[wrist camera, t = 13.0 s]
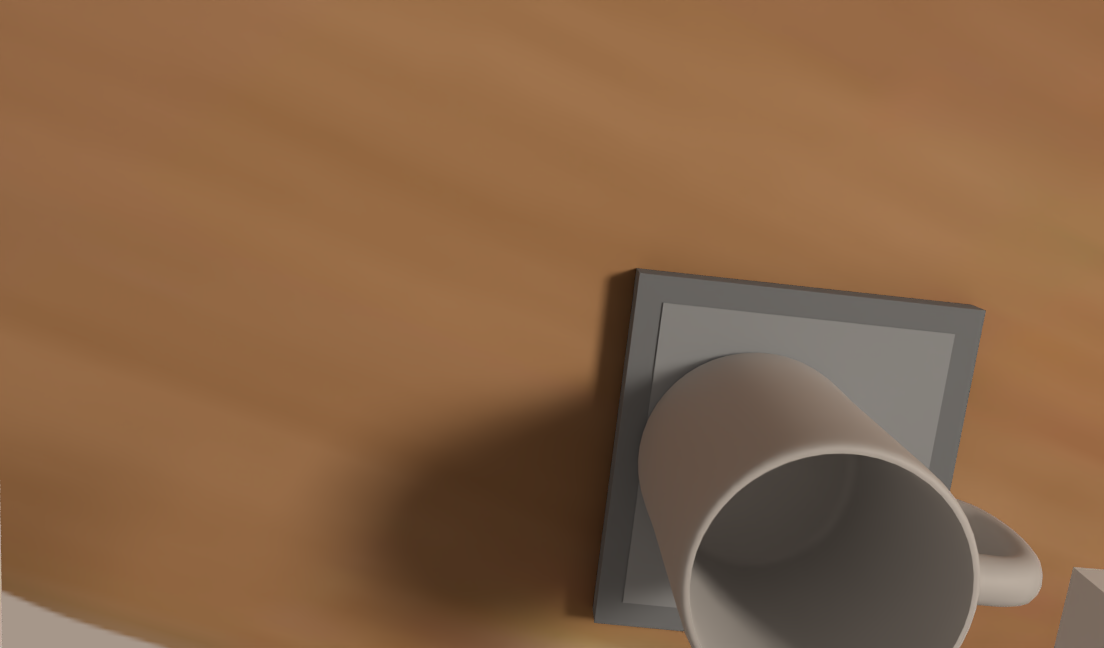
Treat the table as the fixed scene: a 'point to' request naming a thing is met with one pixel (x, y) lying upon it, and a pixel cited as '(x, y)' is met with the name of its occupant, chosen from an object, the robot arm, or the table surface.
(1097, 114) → the table surface
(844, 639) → the mug
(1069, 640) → the robot arm
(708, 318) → the coaster
